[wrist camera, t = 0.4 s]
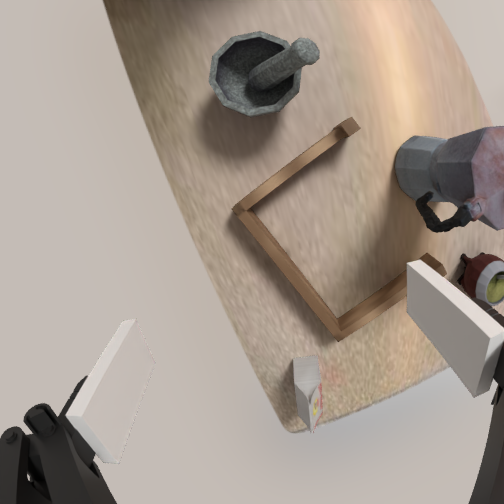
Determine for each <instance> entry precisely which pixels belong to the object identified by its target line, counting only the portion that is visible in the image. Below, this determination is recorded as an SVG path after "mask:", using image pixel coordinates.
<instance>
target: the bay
mask: <svg viewBox="0 0 504 504" xmlns="http://www.w3.org/2000/svg"><path fill="white" fill-rule="evenodd" d="M333 129H334V130H333V131H332V132H330V133H329V134H328V135H326V136H325V137H324V138H322V139H321V140H319V141H318V142H317V143H315V144H314V145H313V146H311V147H310V148H309V149H307V150H306V151H305V152H303V153H302V154H301V155H299V156H298V157H296V158H295V159H294V160H292V161H291V162H290V163H289V164H287V165H286V166H285V167H283V168H282V169H281V170H279V171H278V172H277V173H275V174H274V175H273V176H271V177H270V178H269V179H268V180H266V181H265V182H264V183H262V184H261V185H260V186H258V187H257V188H256V189H255V190H253V191H252V192H251V193H250V194H248V195H247V196H246V197H244V198H243V199H242V200H241V201H239V202H238V203H237V204H236V205H235V206H234V207H233V208H232V210H233V212H234V213H235V214H236V215H237V216H238V218H239V219H240V220H241V221H242V223H243V224H244V225H245V226H246V228H247V229H248V230H249V231H250V233H251V234H252V235H253V236H254V237H255V239H256V240H257V241H258V242H259V244H260V245H261V246H262V247H263V249H264V250H265V251H266V252H267V254H268V255H269V256H270V257H271V259H272V260H273V261H274V262H275V264H276V265H277V266H278V267H279V269H280V270H281V271H282V272H283V274H284V275H285V276H286V277H287V279H288V280H289V281H290V282H291V284H292V285H293V286H294V287H295V289H296V290H297V291H298V292H299V294H300V295H301V296H302V297H303V299H304V300H305V301H306V302H307V304H308V305H309V306H310V307H311V309H312V310H313V311H314V312H315V314H316V315H317V316H318V317H319V319H320V320H321V321H322V323H323V324H324V325H325V326H326V328H327V329H328V330H329V331H330V333H331V334H332V335H333V336H334V338H335V339H336V340H337V341H338V342H339V341H341V340H342V339H344V338H345V337H347V336H348V335H350V334H352V333H353V332H355V331H356V330H358V329H359V328H361V327H362V326H364V325H365V324H367V323H368V322H370V321H371V320H373V319H374V318H376V317H377V316H379V315H380V314H381V313H383V312H384V311H386V310H387V309H389V308H390V307H391V306H393V305H394V304H396V303H397V302H398V301H400V300H401V299H403V298H404V297H405V296H407V270H406V271H405V272H403V273H402V274H401V275H399V276H398V277H397V278H395V279H394V280H393V281H391V282H390V283H388V284H387V285H386V286H384V287H383V288H381V289H380V290H379V291H377V292H376V293H374V294H373V295H372V296H370V297H369V298H367V299H366V300H364V301H363V302H362V303H360V304H359V305H357V306H356V307H354V308H353V309H351V310H350V311H348V312H347V313H345V314H344V315H342V316H341V317H339V318H338V319H337V318H336V317H335V316H334V314H333V313H332V312H331V310H330V309H329V308H328V306H327V305H326V304H325V303H324V301H323V300H322V299H321V297H320V296H319V295H318V293H317V292H316V291H315V289H314V288H313V287H312V286H311V284H310V283H309V282H308V280H307V279H306V278H305V277H304V275H303V274H302V273H301V271H300V270H299V269H298V268H297V266H296V265H295V264H294V262H293V261H292V260H291V259H290V257H289V256H288V255H287V253H286V252H285V251H284V250H283V248H282V247H281V246H280V245H279V243H278V242H277V241H276V240H275V238H274V237H273V236H272V234H271V233H270V232H269V231H268V229H267V228H266V227H265V226H264V224H263V223H262V222H261V221H260V219H259V218H258V217H257V216H256V214H255V213H254V212H253V211H252V209H251V208H250V207H251V206H253V205H254V204H255V203H257V202H258V201H259V200H261V199H262V198H263V197H264V196H266V195H267V194H268V193H270V192H271V191H272V190H274V189H275V188H276V187H277V186H279V185H280V184H281V183H283V182H284V181H285V180H287V179H288V178H289V177H291V176H292V175H293V174H295V173H296V172H297V171H299V170H300V169H301V168H303V167H304V166H305V165H307V164H308V163H309V162H311V161H312V160H313V159H315V158H316V157H317V156H319V155H320V154H321V153H323V152H324V151H326V150H327V149H328V148H330V147H331V146H332V145H334V144H335V143H336V142H338V141H339V140H341V139H342V138H346V137H349V136H351V135H352V134H354V133H355V132H356V131H358V130H359V129H361V128H360V127H359V126H358V124H357V123H356V122H355V120H354V119H353V118H352V117H350V118H348V119H347V120H345V121H343V122H341V123H340V124H339V125H337V126H336V127H335V128H333ZM419 260H421V261H423V262H424V263H425V264H427V265H428V266H429V267H431V268H432V269H433V270H435V271H436V272H437V273H438V274H440V275H441V276H442V277H444V276H445V275H446V274H447V273H446V270H445V268H444V266H443V264H441V263H440V262H439V261H437V260H436V259H435V258H433V257H432V256H431V255H429V254H428V253H426V254H425V255H424V256H422V257H421V258H420V259H419Z"/></svg>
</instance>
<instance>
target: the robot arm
mask: <svg viewBox="0 0 504 504" xmlns="http://www.w3.org/2000/svg"><path fill="white" fill-rule="evenodd" d="M407 313H408V315H409V316H410V317H411V318H412V319H413V321H414V322H415V323H416V324H417V325H418V327H419V328H420V329H421V330H422V331H423V333H424V334H425V335H426V336H427V338H428V339H429V340H430V341H431V343H432V344H433V345H434V346H435V348H436V349H437V350H438V351H439V353H440V354H441V355H442V356H443V358H444V359H445V360H446V361H447V363H448V364H449V365H450V367H451V368H452V369H453V371H454V372H455V373H456V374H457V376H458V377H459V378H460V380H461V381H462V382H463V384H464V385H465V386H466V387H467V389H468V391H469V392H470V393H471V394H472V396H473V397H474V398H475V397H477V396H479V395H481V394H483V393H485V392H487V391H488V390H489V389H490V386H491V383H492V380H493V378H494V380H495V381H496V382H497V383H498V387H497V389H496V392H495V395H494V398H493V400H492V403H491V404H492V405H493V404H494V407H493V414H492V419H491V424H490V429H489V434H488V439H487V443H486V448H485V451H484V455H483V459H482V463H481V467H480V470H479V474H478V477H477V480H476V483H475V487H474V490H473V492H472V496H471V498H470V501H469V504H504V317H503V316H502V315H501V314H498V312H497V311H496V310H495V309H493V308H492V307H491V306H490V305H489V304H488V303H486V302H485V301H483V300H480V299H478V298H475V297H474V298H472V299H470V298H468V297H467V296H466V295H465V294H463V293H462V292H461V291H460V290H459V289H457V288H456V287H455V286H454V285H452V284H451V283H450V282H449V281H447V280H446V279H445V278H444V277H442V276H441V275H440V274H438V273H437V272H436V271H435V270H433V269H432V268H431V267H429V266H428V265H427V264H425V263H424V262H423V261H421V260H416V261H412V262H409V263H407ZM155 364H156V362H155V360H154V358H153V356H152V354H151V352H150V349H149V347H148V345H147V343H146V340H145V338H144V336H143V333H142V331H141V329H140V326H139V324H138V322H137V319H131V320H124V321H123V322H122V323H121V325H120V326H119V328H118V329H117V331H116V332H115V334H114V335H113V337H112V338H111V340H110V342H109V343H108V345H107V346H106V348H105V350H104V351H103V353H102V354H101V356H100V358H99V359H98V361H97V363H96V364H95V366H94V367H93V369H92V371H91V372H90V374H89V376H85V377H84V378H83V379H82V380H81V381H80V382H79V383H78V384H77V386H76V387H75V389H74V393H72V394H71V396H70V399H68V401H67V403H66V404H65V406H64V408H63V409H62V411H61V413H60V415H59V416H58V417H57V416H56V414H55V413H54V412H53V410H52V409H51V407H50V406H49V405H47V404H45V403H43V404H38V405H35V406H34V407H32V408H31V409H29V410H28V412H27V413H26V414H25V416H24V423H25V424H26V425H27V426H28V428H29V429H30V430H31V431H32V433H33V434H29V435H25V433H24V432H23V431H22V429H21V428H20V427H17V426H16V427H11V428H9V429H7V430H6V431H5V432H4V433H3V434H2V436H1V438H0V504H117V503H116V501H115V499H114V497H113V496H112V494H111V492H110V490H109V489H108V486H107V484H106V482H105V480H104V479H103V476H102V474H101V472H100V470H99V469H98V466H97V465H96V463H95V462H94V461H93V459H94V456H95V454H96V455H97V456H98V457H99V458H100V459H101V460H102V462H104V463H114V464H119V463H120V460H121V457H122V454H123V452H124V449H125V446H126V442H127V440H128V437H129V434H130V431H131V429H132V426H133V423H134V420H135V417H136V415H137V412H138V409H139V406H140V403H141V401H142V398H143V395H144V393H145V390H146V387H147V385H148V382H149V379H150V377H151V374H152V371H153V369H154V366H155ZM27 474H28V475H29V476H30V481H28V478H27Z"/></svg>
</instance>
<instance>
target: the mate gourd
mask: <svg viewBox="0 0 504 504" xmlns="http://www.w3.org/2000/svg"><path fill="white" fill-rule="evenodd" d="M461 258H462V260H463V261H464V263H465V264H466V266H467V267H466V269H465V272H464V273H463V275H462V276H461V277H460V278H459V279H458V280H457V281H458V283H459V284H460V285H461V284H462V286H463V288H464V290H465V291H466V293H467V294H468V295H469V296H470V297H471V298H474V297H475V298H478V299H480V300H483V301H485V302H486V303H488V304H489V305H490V306H495V305H498V304H499V303H501V302H502V301H503V300H504V261H503V260H502V259H500V258H498V257H497V256H494V255H492V254H485V253H483V252H481V254H480V255H478V256H476V257H474V258H472V259H471V258H468V257H467V256H466V255H465V254H464V253H463V254H462V255H461Z"/></svg>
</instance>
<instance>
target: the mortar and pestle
mask: <svg viewBox="0 0 504 504" xmlns="http://www.w3.org/2000/svg"><path fill="white" fill-rule="evenodd" d="M318 59H319V49H318V47H317V45H316V44H315V43H314V42H313V41H311V40H310V39H308V38H299V39H297V40H296V41H295V42H293V43H292V45H291V46H290V45H289V43H288V42H287V41H285V40H283V39H280V38H278V37H275V36H272V35H270V34H267V33H264V32H261V31H258V32H253V33H248V34H243V35H238V36H234V37H231V38H230V39H229V40H228V41H227V42H226V43H225V44H224V45H223V46H222V47H221V48H220V49H219V50H218V51H217V52H216V53H215V54H214V55H213V56H212V62H211V69H210V76H209V83H210V85H211V87H212V88H213V90H214V91H215V93H216V95H217V96H218V98H219V100H220V101H221V103H222V105H223V106H225V107H227V108H229V109H232V110H234V111H237V112H239V113H242V114H244V115H246V116H249V117H255V116H260V115H265V114H270V113H276V112H280V110H281V109H282V108H283V107H284V106H285V105H286V104H287V103H288V102H289V101H290V100H291V99H292V98H293V97H294V96H295V95H296V94H297V93H299V88H300V79H301V69H302V67H303V66H305V65H312V64H314V63H315V62H316V61H317V60H318Z"/></svg>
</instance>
